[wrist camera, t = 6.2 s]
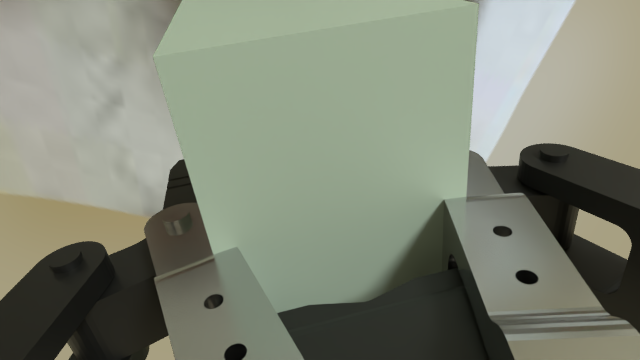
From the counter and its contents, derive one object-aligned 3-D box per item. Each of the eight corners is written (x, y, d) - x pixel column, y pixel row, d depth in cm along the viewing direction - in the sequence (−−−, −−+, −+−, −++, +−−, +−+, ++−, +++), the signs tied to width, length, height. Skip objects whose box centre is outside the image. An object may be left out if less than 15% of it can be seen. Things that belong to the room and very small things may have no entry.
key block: (248, 233, 17) (279, 472, 9) (188, -12, 13) (152, 57, 5) (346, 212, 18) (451, 421, 10) (321, -32, 13) (478, 3, 5)
